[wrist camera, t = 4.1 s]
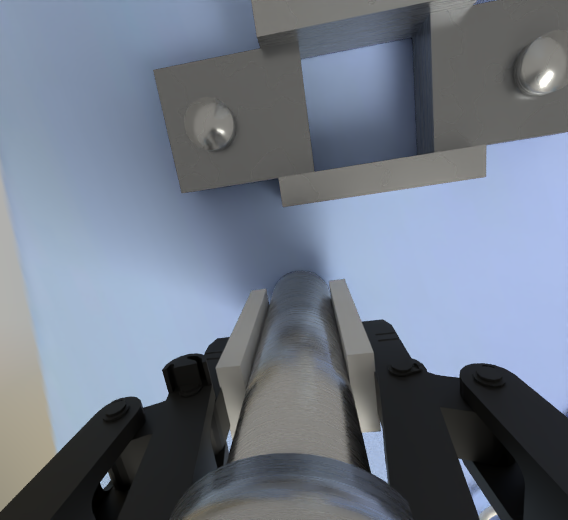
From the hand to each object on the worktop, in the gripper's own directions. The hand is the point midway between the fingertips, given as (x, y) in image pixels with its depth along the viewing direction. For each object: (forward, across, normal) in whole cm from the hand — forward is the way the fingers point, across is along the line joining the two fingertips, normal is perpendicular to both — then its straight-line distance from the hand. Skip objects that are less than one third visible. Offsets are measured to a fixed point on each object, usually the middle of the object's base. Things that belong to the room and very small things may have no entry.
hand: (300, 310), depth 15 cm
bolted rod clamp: (+2, +4, +9) cm, 10 cm away
